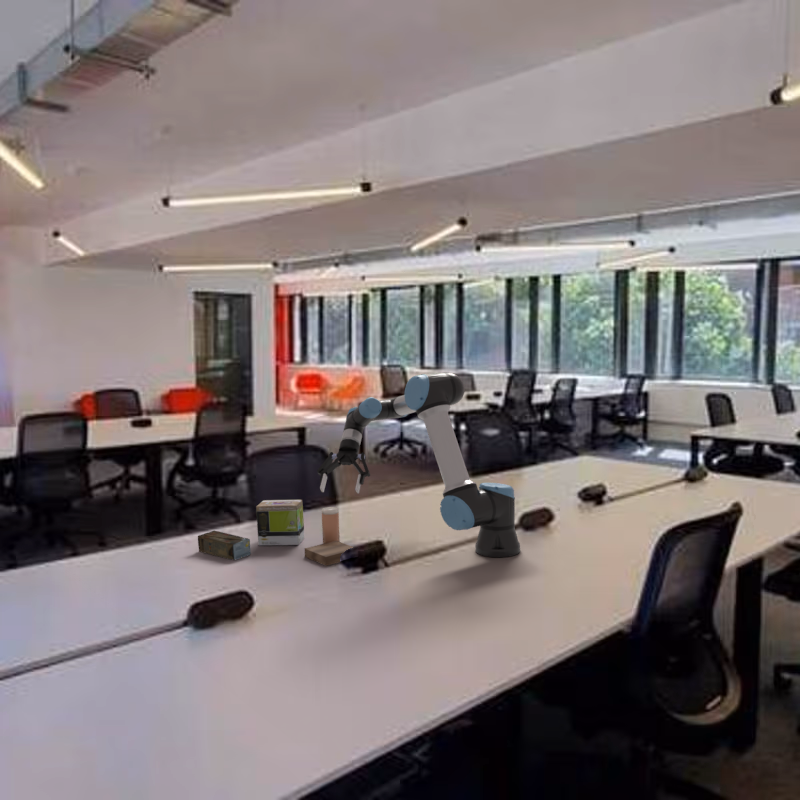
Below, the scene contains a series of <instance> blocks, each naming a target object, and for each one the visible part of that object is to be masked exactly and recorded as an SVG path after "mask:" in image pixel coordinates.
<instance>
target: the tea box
mask: <svg viewBox="0 0 800 800" xmlns="http://www.w3.org/2000/svg"><path fill="white" fill-rule="evenodd" d="M255 508H256V510H255V512H256V527H257V528H256V530H257V543H258V546H299V545H300V544H301V543H302V541H304V539H305V524H304V523H305V522H304V519H305V518H304V506H303V499H266V500H265V499H264V500H262V501H261V502H260V503H259V504H258V505H256V506H255Z"/></svg>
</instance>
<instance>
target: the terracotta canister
mask: <svg viewBox="0 0 800 800" xmlns="http://www.w3.org/2000/svg"><path fill="white" fill-rule="evenodd" d="M339 514H340V513H339V507H335V506H334V507H333V506H330V507H323V508H321V527H322V529H321V531H322V544H325V543H329V542H333V541H339V542H341V540H340V538H341V536H340V515H339Z"/></svg>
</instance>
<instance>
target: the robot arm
mask: <svg viewBox="0 0 800 800" xmlns="http://www.w3.org/2000/svg"><path fill="white" fill-rule="evenodd" d="M464 395H465V384H464V381H463V380H462V378H460V377H459V376H458V375H457V374H455V373H452V372H438V373H427V374H426V373H422V374H419V375H418V374H417V375H413V376H412V377H410V378H409V380H408V381H407V383H406V385H405V388H404V394H403V395H399V396H397V397H394V398H390V399H382V400H379V399H378V398H375V397H372V396H370V397H367V398H365V399H364V400H363V401H362V402H360V404H359V405H358V406H354V407H351V408H350V409H349V410H348V412H347V414H346V416H345V417H346V419H345V423H344V427H343V432H342V436H341V439H340V444H339V448H338V452H337V453H333V451H330V452H329V455H328V457H326V459H324V461H323V462H322V464H321V465H320V466H319V467H318V468H317V470H316V472H317V474H318V476H320V477H319V483H320V486H319V489H320V492H321V493H325V488H326V484H327V480H328V475H329V474H330V473H332V472H333V471H335V469H337V468H338V467H340V466H351V465H352V466H353V467H354V468H355V470H356V471H357V472H358V473H359V474H358V475H357V480H356V484H355V492H356V493H357V494H360V491H361V486H362V485H364V482H365V479H366V477H370V476H371V473H370V470H369V468H368V467H369V466H368V464H367V462H366V460H367V459H366V454H365V452H361V453H359V452H360V448H361V446H360V445H361V442H362V440H363V439H362V438H363V433H364V430H365V428H366V427H367V426H368V425H369V424H370V423H371V422H373V421H382V420H390V419H391V420H392V419H399V418H405V417H407V416H408V415H410V414H413V413H416V415H417V418H418V419H419V420H422V421H423V423H424V425H425V429H426V431H427V432H426V433H427V435H428V439H429V441H430V444H431V447H432V450H433V454H434V456H435V461H436V463H437V466H438V468H439V473H440V474H441V478H442V481H443V484H444V490H443V491H442V496H443V498H442V500H440V508H439V510H440V515H441V517H442V520H443V521H444V523H445V525H447V526H448V527H449V528H451V529H452V530H454V531H463V530H464V531H467V530H470V529H473V528H476V527H479V532H478V535H477V539H476V542H475V548H474V549H475V550H474V551H475V553H477V554H478V555H480V556H484V557H489V558H506V557H507V558H509V557H513V556H516V555H518V554H520V553H521V543H520V541H519V538H518V536H517V535H518V534H517V532H516V529H515V527H516V525H515V523H516V522H515V519H516V518H515V515H516V514H515V511H516V509H515V507H516V505H515V503H516V502H515V500H516V496H515V490H514V488H513V486H511V485H509V484H506V483H499V482H481V483H480V484H479V486H478V485H477V483H476V482H475V481H473V480H471V479H470V475H469V473H468V470H467V467H466V463H465V460H464V458H463V454H462V451H461V448H460V445H459V443H458V439H457V437H456V433H455V431H454V428H453V424H452V421H451V419H450V416H449V411H450V410H451V406H454V405H456V404H458V403H459V402H460V401H461V400H462V399H463V397H464ZM358 459H359V460H360V461H361V462H362V466H363V468H364V470H363V469H362V468H361V466H360V465H359V463H358V462H357V460H358Z"/></svg>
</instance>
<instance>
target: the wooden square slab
mask: <svg viewBox="0 0 800 800" xmlns="http://www.w3.org/2000/svg"><path fill="white" fill-rule="evenodd" d="M353 547H354V546H352V545H350V544H347V543H344V542H341V541H340V542H339V541H333V542H329V543H325V544H323V543H321V544H317V545H313V546H308V547H305V548H304V558H306V559H308V560H311V561H313V562H316V563H318V564H321V565H323V566H330V565H334V564H339V563H341V562H340V556H341V554H342V553H344V552H345V551H346V550H348V549H350V548H353Z"/></svg>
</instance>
